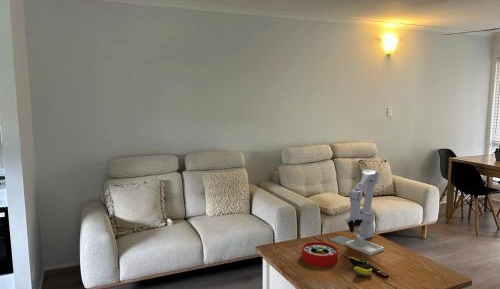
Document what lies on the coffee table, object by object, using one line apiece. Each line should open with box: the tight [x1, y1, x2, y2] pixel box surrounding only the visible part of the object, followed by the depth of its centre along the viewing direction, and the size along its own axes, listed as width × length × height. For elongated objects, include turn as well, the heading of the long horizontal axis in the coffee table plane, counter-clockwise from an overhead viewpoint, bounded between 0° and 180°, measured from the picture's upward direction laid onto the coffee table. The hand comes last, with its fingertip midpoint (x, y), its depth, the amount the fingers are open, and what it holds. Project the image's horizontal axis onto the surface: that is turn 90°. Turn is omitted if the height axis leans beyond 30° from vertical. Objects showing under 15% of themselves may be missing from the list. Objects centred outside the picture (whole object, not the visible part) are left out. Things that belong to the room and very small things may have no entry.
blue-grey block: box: [353, 235, 366, 247], centre depth 229 cm, size 4×4×5 cm
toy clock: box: [301, 241, 339, 267], centre depth 212 cm, size 20×6×20 cm
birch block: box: [348, 225, 360, 236], centre depth 230 cm, size 4×4×5 cm
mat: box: [328, 235, 353, 246], centre depth 237 cm, size 12×12×1 cm
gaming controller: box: [348, 256, 373, 277], centre depth 196 cm, size 15×6×10 cm
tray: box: [345, 239, 385, 257], centre depth 226 cm, size 18×13×2 cm
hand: (354, 231), depth 230 cm, fingers closed on birch block, 4 cm apart
